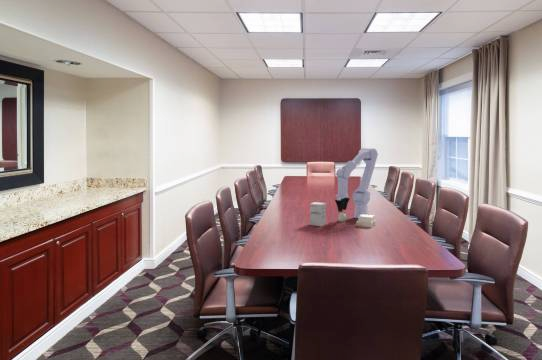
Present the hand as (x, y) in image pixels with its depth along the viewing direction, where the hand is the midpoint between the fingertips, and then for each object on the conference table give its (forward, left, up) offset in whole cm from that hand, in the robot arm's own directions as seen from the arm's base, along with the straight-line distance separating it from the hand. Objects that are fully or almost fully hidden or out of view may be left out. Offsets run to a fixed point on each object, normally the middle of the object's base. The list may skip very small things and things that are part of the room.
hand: (342, 210), depth 236 cm
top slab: (+5, +16, -4) cm, 17 cm away
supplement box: (+17, -9, -7) cm, 20 cm away
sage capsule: (0, 0, -6) cm, 6 cm away
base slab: (+5, +16, -7) cm, 18 cm away
